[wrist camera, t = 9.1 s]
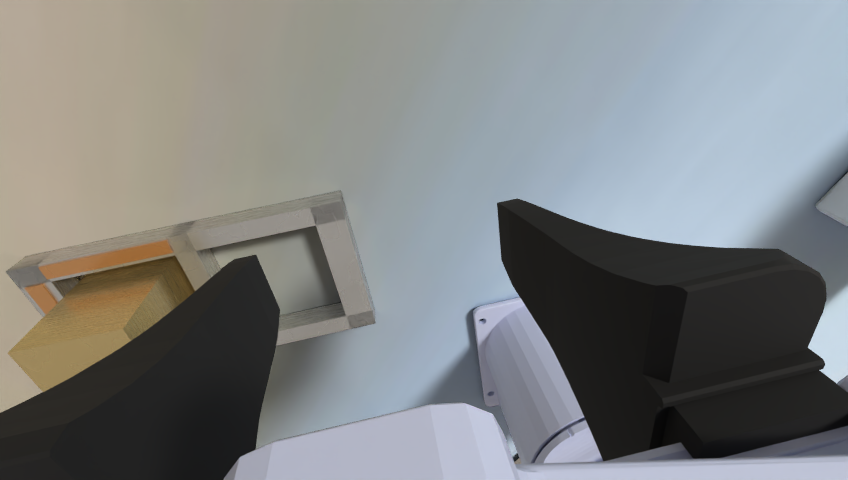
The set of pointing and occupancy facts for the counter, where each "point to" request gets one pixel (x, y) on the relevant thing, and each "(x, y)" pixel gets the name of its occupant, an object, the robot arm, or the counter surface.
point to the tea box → (836, 202)
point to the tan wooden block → (100, 318)
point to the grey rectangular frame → (191, 244)
